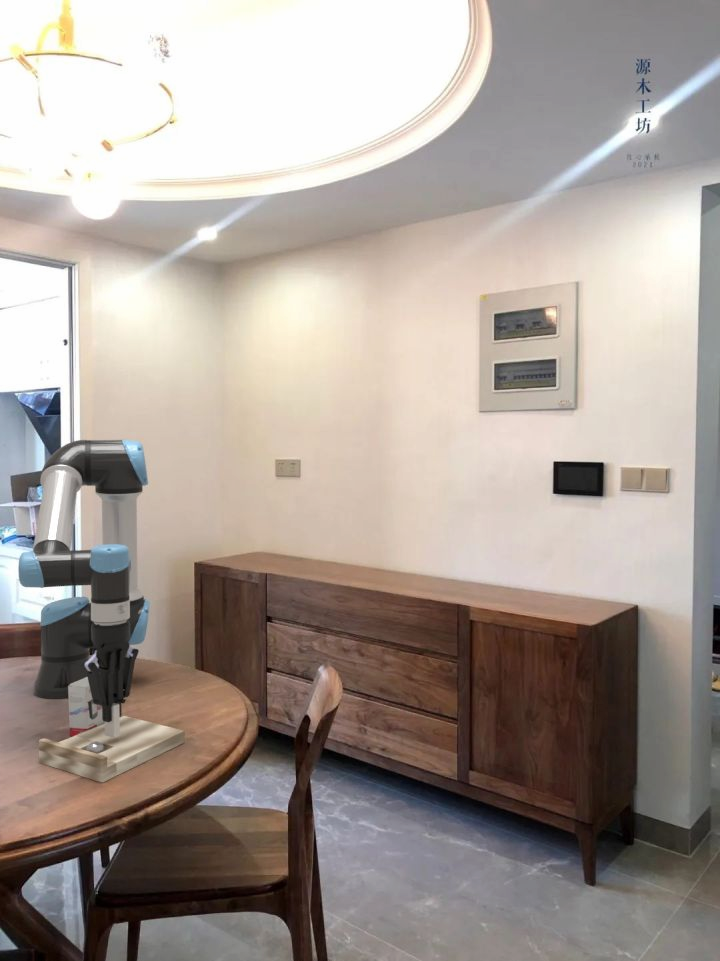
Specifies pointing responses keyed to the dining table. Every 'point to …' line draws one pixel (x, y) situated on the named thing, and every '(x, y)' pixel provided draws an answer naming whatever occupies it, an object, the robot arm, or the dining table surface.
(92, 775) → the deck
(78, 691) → the ink box
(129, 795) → the dining table surface
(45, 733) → the dining table surface
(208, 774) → the dining table surface
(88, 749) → the ball
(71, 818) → the dining table surface
